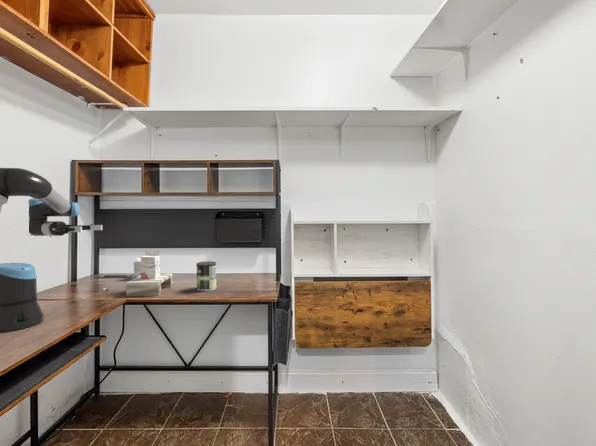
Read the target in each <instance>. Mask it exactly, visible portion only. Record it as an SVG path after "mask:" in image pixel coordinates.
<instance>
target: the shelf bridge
mask: <svg viewBox="0 0 596 446" xmlns="http://www.w3.org/2000/svg"><path fill="white" fill-rule="evenodd" d="M173 281H174V280H173V273H160V277H159V278H156V279H143V278H141V276H139V277H136V278H134V277H133V278H132V279H130V280H128V281H126V282H125V294H126V297H156V296H157V297H158V296H159V297H160V296H161V295H162V288H172V287H173V286H174V285H173V284H174V283H173Z"/></svg>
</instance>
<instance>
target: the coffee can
mask: <svg viewBox="0 0 596 446" xmlns="http://www.w3.org/2000/svg"><path fill="white" fill-rule="evenodd" d="M216 289H217V262H216V261H212V260H211V261H208V260H207V261H199V262H196V290H197V291H201V292H209V291H213V290H216Z"/></svg>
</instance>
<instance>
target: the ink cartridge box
mask: <svg viewBox="0 0 596 446" xmlns="http://www.w3.org/2000/svg"><path fill="white" fill-rule="evenodd" d="M144 251H145V255H142V256H140V257H139V258H140V265H141V278H143V279H156V278H159V277H160V274H161V257H160V250H159V249H145V250H144Z"/></svg>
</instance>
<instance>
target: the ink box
mask: <svg viewBox="0 0 596 446" xmlns="http://www.w3.org/2000/svg"><path fill="white" fill-rule="evenodd" d="M139 276H141V265H140V257H137V260H133V279H134V278H136V277H139Z"/></svg>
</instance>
